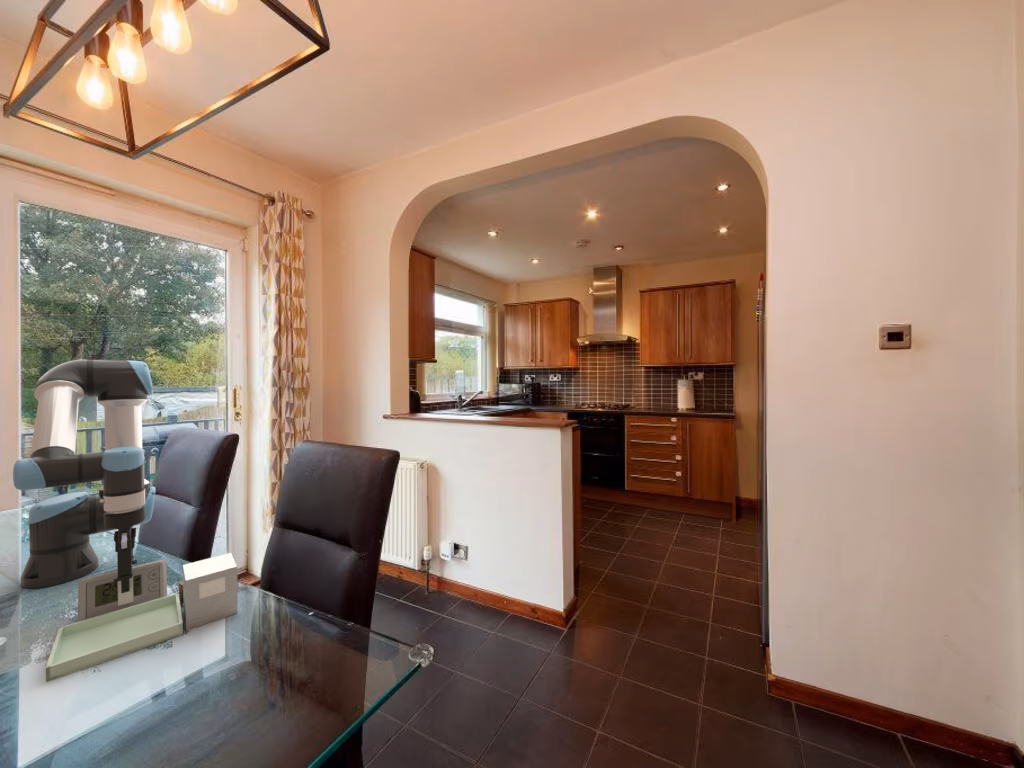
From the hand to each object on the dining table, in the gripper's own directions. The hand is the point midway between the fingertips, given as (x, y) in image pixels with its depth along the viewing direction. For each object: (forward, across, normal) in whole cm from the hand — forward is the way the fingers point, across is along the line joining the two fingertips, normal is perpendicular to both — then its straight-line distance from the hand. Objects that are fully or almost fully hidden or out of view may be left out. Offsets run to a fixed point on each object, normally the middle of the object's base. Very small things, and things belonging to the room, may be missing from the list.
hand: (126, 597), depth 100 cm
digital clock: (+3, +1, 0) cm, 4 cm away
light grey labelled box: (+3, +16, +16) cm, 23 cm away
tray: (+3, +14, 0) cm, 14 cm away
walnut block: (+3, +6, +13) cm, 15 cm away
